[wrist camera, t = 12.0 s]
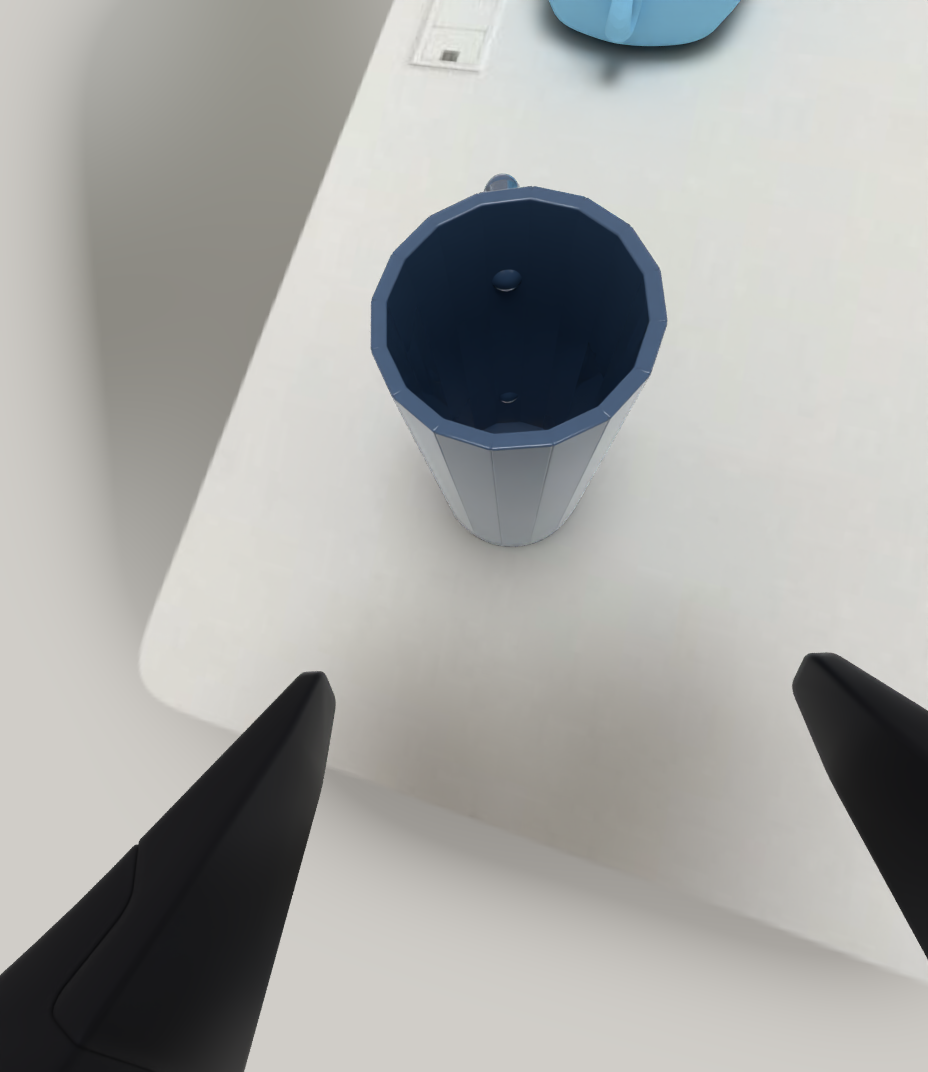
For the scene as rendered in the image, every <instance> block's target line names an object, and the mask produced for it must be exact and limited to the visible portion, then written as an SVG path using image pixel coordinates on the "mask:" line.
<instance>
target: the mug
mask: <svg viewBox="0 0 928 1072" xmlns="http://www.w3.org/2000/svg"><path fill="white" fill-rule="evenodd" d="M666 327H667V313H666V306H665V299H664V292H663V284H662V277H661V271H660V269H659V267H658V265H657V264H656V262H655V261H654V259H653V258H652V256H651V255H650V253H649V252H648V250H647V249H646V247H645V246H644V244H643V243H642V241H641V240H640V238H639V237H638V235H637V234H636V232H635V231H634V229H633V228H632V227H630V225H629V224H628V223H626V222H624V221H623V220H621V219H620V218H618V217H617V216H615V215H614V214H612V213H610V212H609V211H607V210H606V209H604V208H603V207H601V206H600V205H598V204H596V203H595V202H593V201H592V200H590V199H589V198H586V197H584V196H579V195H574V194H569V193H564V192H560V191H555V190H550V189H545V188H541V187H536V186H534V187H532V186H528V187H519V184H518V183H517V181H516V180H515V179H514V178H513V177H512V176H511V175H509V174H497V175H495V176H493V177H492V178H491V179H490V180H489V181H488V183H487V184H486V186H485V189H484V192H480V193H479V194H475V195H472V196H470V197H468V198H466V199H464V200H462V201H460V202H458V203H456V204H454V205H452V206H450V207H447V208H445V209H443V210H441V211H439V212H437V213H435V214H433V215H431V216H430V217H428V218H427V219H426V220H425V221H424V222H423V223H422V224H421V225H420V226H419V227H418V228H417V229H416V230H415V231H414V232H413V233H412V234H411V235H410V236H409V237H408V238H407V239H406V240H405V241H404V242H403V243H402V244H401V245H400V246H399V247H398V248H397V249H396V250H395V251H394V252H393V254H392V255H391V256H390V259H389V261H388V263H387V265H386V268H385V270H384V272H383V274H382V277H381V279H380V281H379V283H378V286H377V288H376V290H375V292H374V295H373V297H372V301H371V351H372V355H373V357H374V359H375V361H376V363H377V366H378V368H379V370H380V372H381V374H382V376H383V379H384V381H385V383H386V385H387V387H388V389H389V392H390V394H391V396H392V398H393V400H394V402H395V404H396V405H397V407H398V409H399V411H400V413H401V415H402V417H403V419H404V421H405V423H406V424H407V426H408V428H409V430H410V432H411V434H412V436H413V438H414V440H415V442H416V443H417V445H418V447H419V449H420V451H421V453H422V455H423V457H424V459H425V461H426V462H427V464H428V466H429V468H430V470H431V472H432V474H433V476H434V478H435V480H436V482H437V483H438V485H439V487H440V489H441V491H442V493H443V495H444V497H445V499H446V501H447V502H448V504H449V506H450V508H451V510H452V512H453V514H454V516H455V518H456V519H457V520H458V521H459V522H460V523H461V524H462V525H463V526H464V527H465V528H466V529H467V530H468V531H469V532H470V533H472V534H473V535H474V536H476V537H478V538H480V539H481V540H484V541H486V542H488V543H491V544H495V545H500V546H507V547H516V546H525V545H529V544H533V543H535V542H538V541H541V540H543V539H544V538H546V537H548V536H550V535H551V534H552V533H554V532H555V531H557V530H558V529H559V528H560V527H561V526H562V525H563V524H564V522H565V521H566V520H567V519H568V517H569V516H570V515H571V514H572V513H573V511H574V509H575V508H576V506H577V504H578V502H579V500H580V499H581V497H582V495H583V493H584V492H585V490H586V488H587V486H588V485H589V483H590V481H591V479H592V477H593V476H594V474H595V472H596V470H597V469H598V467H599V465H600V463H601V462H602V460H603V458H604V456H605V454H606V453H607V451H608V449H609V447H610V446H611V444H612V442H613V440H614V439H615V437H616V435H617V433H618V431H619V430H620V428H621V426H622V424H623V423H624V421H625V419H626V417H627V416H628V414H629V412H630V410H631V408H632V407H633V405H634V403H635V401H636V400H637V398H638V396H639V394H640V392H641V391H642V389H643V387H644V385H645V384H646V382H647V380H648V378H649V377H650V375H651V372H652V369H653V366H654V363H655V360H656V357H657V354H658V351H659V348H660V345H661V342H662V339H663V336H664V333H665V330H666Z"/></svg>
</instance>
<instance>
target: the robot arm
mask: <svg viewBox="0 0 928 1072" xmlns="http://www.w3.org/2000/svg"><path fill="white" fill-rule="evenodd" d="M792 689H793V694H794V697H795V699H796V702H797V704H798V706H799V709H800V711H801V713H802V716H803V718H804V720H805V723H806V725H807V728H808V730H809V732H810V735H811V737H812V739H813V742H814V744H815V746H816V749H817V751H818V753H819V756H820V758H821V761H822V763H823V765H824V767H825V770H826V772H827V774H828V776H829V778H830V780H831V782H832V784H833V786H834V788H835V790H836V792H837V794H838V796H839V798H840V799H841V801H842V803H843V805H844V807H845V808H846V810H847V812H848V814H849V816H850V818H851V819H852V821H853V823H854V825H855V827H856V829H857V830H858V832H859V834H860V836H861V838H862V840H863V841H864V843H865V845H866V847H867V849H868V851H869V852H870V854H871V856H872V858H873V860H874V862H875V863H876V865H877V867H878V869H879V871H880V873H881V874H882V876H883V878H884V880H885V882H886V884H887V885H888V887H889V889H890V891H891V893H892V895H893V896H894V898H895V900H896V902H897V904H898V906H899V907H900V909H901V911H902V913H903V915H904V917H905V918H906V920H907V922H908V924H909V926H910V928H911V929H912V931H913V933H914V935H915V937H916V939H917V940H918V942H919V944H920V946H921V948H922V950H923V951H924V953H925V955H926V957H927V959H928V711H927V710H926V709H924V708H923V707H921V706H919V705H918V704H916V703H915V702H913V701H911V700H910V699H908V698H907V697H905V696H903V695H902V694H900V693H898V692H897V691H895V690H894V689H892V688H890V687H889V686H887V685H886V684H884V683H882V682H881V681H879V680H878V679H876V678H874V677H873V676H871V675H870V674H868V673H866V672H865V671H863V670H862V669H860V668H858V667H857V666H855V665H853V664H852V663H850V662H849V661H847V660H845V659H844V658H842V657H841V656H839V655H837V654H834V653H810V654H808V655H806V656H805V657H804V659H803V661H802V663H801V665H800V667H799V669H798V671H797V673H796V676H795V678H794V680H793V684H792ZM335 706H336V702H335V696H334V693H333V691H332V689H331V686H330V684H329V681H328V679H327V677H326V675H325V673H323V672H322V671H312V672H304V673H302V674H300V675H299V676H298V677H297V678H296V679H295V680H294V681H293V682H292V683H291V684H290V685H289V686H288V687H287V688H286V689H285V690H284V692H283V693H282V694H281V695H280V696H279V697H278V698H277V699H276V700H275V701H274V702H273V703H272V704H271V705H270V706H269V707H268V708H267V709H266V710H265V711H264V712H263V713H262V714H261V715H260V716H259V717H258V718H257V719H256V720H255V721H254V722H253V724H252V725H251V726H250V727H249V728H248V729H247V730H246V731H245V732H244V733H243V734H242V735H241V736H240V737H239V738H238V739H237V740H236V741H235V742H234V743H233V744H232V745H231V746H230V747H229V748H228V749H227V750H226V751H225V752H224V753H223V755H222V756H221V757H220V758H219V759H218V760H217V761H216V762H215V763H214V764H213V765H212V766H211V767H210V768H209V769H208V770H207V771H206V772H205V773H204V774H203V775H202V776H201V777H200V778H199V779H198V780H197V782H195V783H194V784H193V785H192V787H191V788H190V789H189V790H188V791H187V792H186V793H185V794H184V795H183V796H182V797H181V798H180V799H179V800H178V801H177V802H176V803H175V804H174V805H173V806H172V807H171V808H170V809H169V810H168V811H167V813H165V814H164V816H162V818H161V819H160V820H159V821H158V822H157V823H156V824H155V825H154V826H153V827H152V828H151V829H150V830H149V831H148V832H147V833H146V834H145V835H144V836H143V837H142V838H141V839H140V841H139V844H138V845H134V846H133V847H132V848H131V849H130V850H129V851H128V852H127V853H126V854H125V855H124V857H123V858H122V859H121V860H120V861H119V862H118V863H117V864H116V865H115V866H114V867H113V868H112V869H111V870H110V871H109V872H108V873H107V874H106V875H105V876H104V877H103V878H102V879H101V880H100V881H99V882H98V883H97V884H96V885H95V886H94V887H93V888H92V889H91V890H90V891H89V892H88V893H87V894H86V895H85V896H84V897H83V898H82V899H81V900H80V901H79V902H78V903H77V904H76V905H75V906H74V907H73V908H72V909H71V910H70V911H68V912H67V913H66V914H65V915H64V916H63V917H62V918H61V919H60V920H59V921H58V922H57V923H56V924H55V925H54V926H53V927H52V928H50V929H49V930H48V931H47V932H46V933H45V934H44V935H43V936H42V937H41V938H40V939H39V940H38V941H37V942H36V943H35V944H34V945H32V946H31V947H30V948H29V949H28V950H27V951H26V952H25V953H24V954H23V955H22V956H21V957H20V958H18V959H17V960H16V961H15V962H14V963H13V964H12V965H11V966H10V967H9V968H7V969H6V970H5V971H4V972H3V973H2V974H1V975H0V1072H244V1070H245V1066H246V1062H247V1059H248V1055H249V1052H250V1048H251V1045H252V1041H253V1037H254V1034H255V1030H256V1026H257V1023H258V1019H259V1015H260V1011H261V1008H262V1004H263V1001H264V997H265V993H266V990H267V986H268V982H269V979H270V975H271V972H272V968H273V964H274V961H275V957H276V953H277V949H278V946H279V942H280V938H281V935H282V932H283V928H284V924H285V920H286V917H287V913H288V909H289V906H290V902H291V899H292V895H293V891H294V888H295V884H296V881H297V877H298V873H299V870H300V866H301V862H302V859H303V855H304V851H305V848H306V844H307V840H308V837H309V833H310V829H311V826H312V822H313V819H314V815H315V811H316V808H317V804H318V800H319V796H320V792H321V788H322V784H323V779H324V773H325V768H326V762H327V756H328V750H329V744H330V737H331V731H332V725H333V719H334V713H335Z"/></svg>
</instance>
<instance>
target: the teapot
mask: <svg viewBox="0 0 928 1072" xmlns="http://www.w3.org/2000/svg"><path fill="white" fill-rule="evenodd" d="M549 2H550V5H551V7H552V9H553V11H554V13H555V15H556V16H557V18H558V19H559V20H560V21H561V22H562V23H564V24H565V25H567V26H568V27H570V28H572V29H574V30H576V31H579V32H581V33H583V34H586V35H589V36H592V37H595V38H597V39H601V40H604V41H608V42H613V43H618V44H624V45H633V46H668V45H679V44H686V43H690V42H694V41H697V40H700V39H702V38H704V37H706V36H707V35H709V34H711V33H712V32H713V31H714V30H715V29H716V28H717V27H718V26H719V25H720V24H721V23H722V21H723V20H724V19H725V18H726V17H727V16H728V15H729V14H730V13H731V12H732V10H733V9H734V8H735V7H736V5H737V4H738V3H739V2H740V0H549Z"/></svg>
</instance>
